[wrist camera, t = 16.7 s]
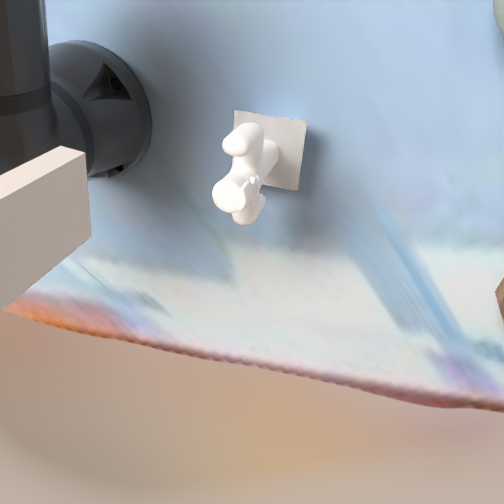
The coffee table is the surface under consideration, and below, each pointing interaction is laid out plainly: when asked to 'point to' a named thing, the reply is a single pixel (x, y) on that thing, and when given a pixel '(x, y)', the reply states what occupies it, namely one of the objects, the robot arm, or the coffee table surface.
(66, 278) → the coffee table surface
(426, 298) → the coffee table surface
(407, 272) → the coffee table surface
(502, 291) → the stand
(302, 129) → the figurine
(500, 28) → the air freshener
